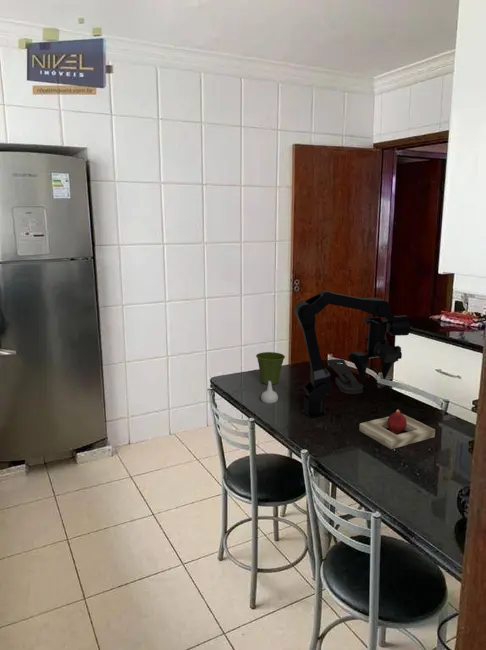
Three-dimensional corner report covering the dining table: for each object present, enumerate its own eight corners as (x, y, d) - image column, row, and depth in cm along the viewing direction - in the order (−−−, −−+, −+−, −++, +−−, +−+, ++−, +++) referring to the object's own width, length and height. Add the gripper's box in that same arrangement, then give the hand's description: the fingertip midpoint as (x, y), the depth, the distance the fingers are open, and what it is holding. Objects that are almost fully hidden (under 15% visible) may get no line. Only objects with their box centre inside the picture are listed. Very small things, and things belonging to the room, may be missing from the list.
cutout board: (391, 449, 142) (391, 441, 141) (359, 430, 154) (359, 423, 153) (434, 437, 150) (435, 429, 149) (401, 420, 162) (401, 413, 161)
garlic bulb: (280, 404, 177) (282, 383, 176) (265, 405, 174) (267, 384, 173) (272, 398, 182) (274, 378, 181) (257, 399, 180) (259, 378, 178)
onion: (405, 439, 148) (407, 414, 146) (386, 436, 150) (387, 412, 148) (405, 431, 153) (407, 407, 152) (387, 428, 155) (388, 405, 154)
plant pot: (278, 388, 191) (278, 361, 189) (250, 384, 196) (251, 357, 194) (288, 379, 201) (289, 354, 199) (262, 375, 206) (262, 350, 204)
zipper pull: (344, 358, 209) (366, 377, 185) (343, 373, 211) (365, 393, 187) (324, 359, 208) (344, 378, 184) (324, 374, 210) (343, 394, 186)
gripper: (370, 344, 152) (367, 390, 155) (415, 338, 159) (411, 383, 163) (348, 336, 162) (346, 380, 165) (392, 331, 169) (388, 373, 173)
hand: (373, 379), depth 166 cm, fingers open, 9 cm apart
